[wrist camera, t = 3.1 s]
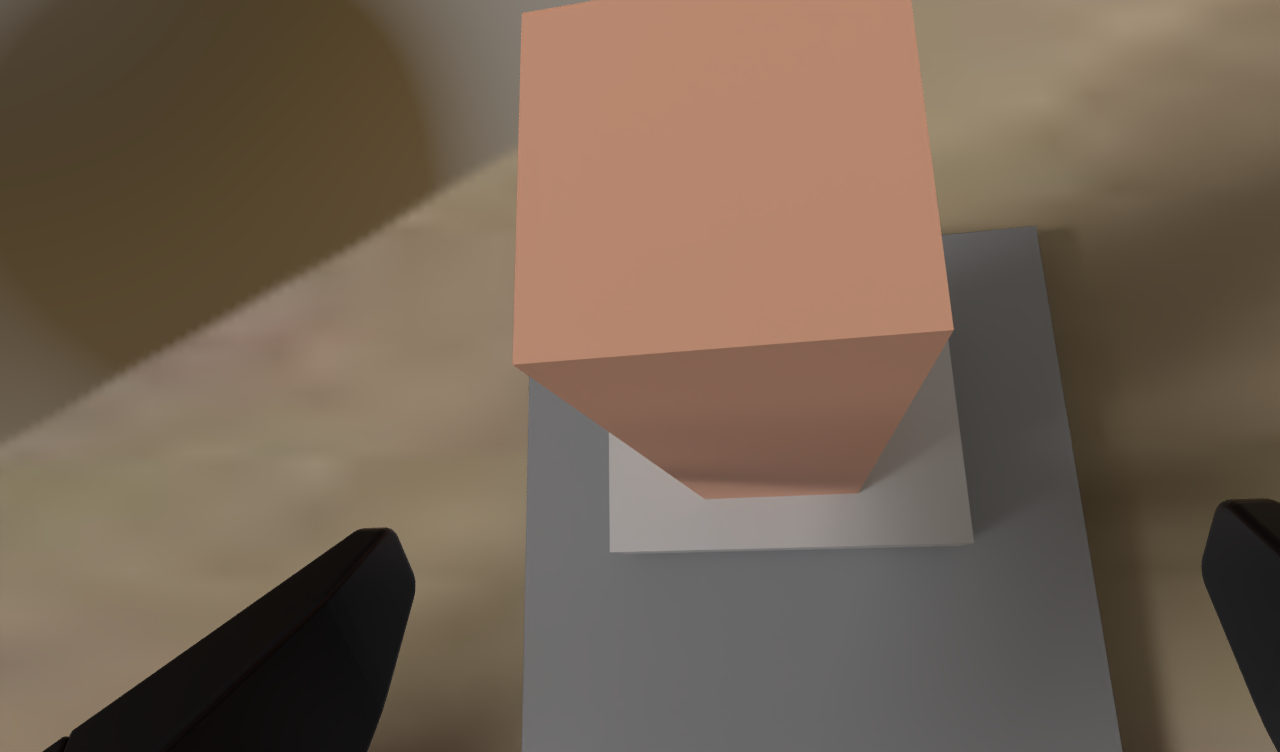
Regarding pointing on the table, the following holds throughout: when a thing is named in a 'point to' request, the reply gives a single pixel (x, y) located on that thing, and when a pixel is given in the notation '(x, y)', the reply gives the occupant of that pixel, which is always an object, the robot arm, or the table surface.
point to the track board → (837, 585)
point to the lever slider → (741, 270)
